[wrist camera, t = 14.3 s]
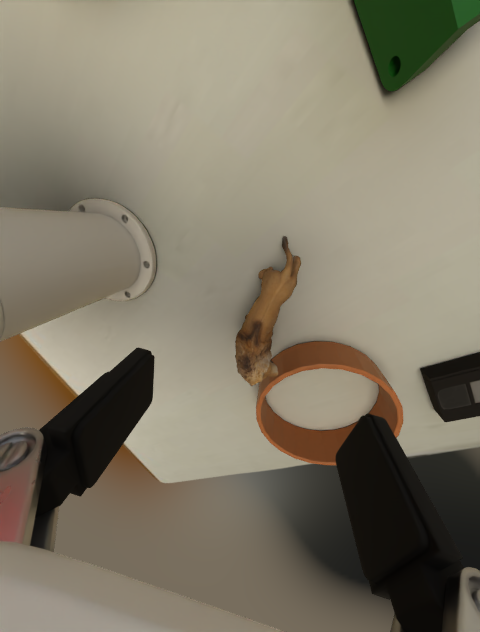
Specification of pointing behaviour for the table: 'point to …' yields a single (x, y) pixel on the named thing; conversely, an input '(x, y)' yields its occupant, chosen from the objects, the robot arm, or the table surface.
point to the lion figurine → (265, 320)
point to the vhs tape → (455, 387)
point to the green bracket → (412, 33)
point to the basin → (326, 443)
